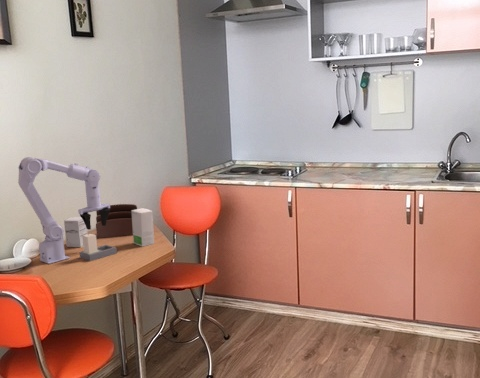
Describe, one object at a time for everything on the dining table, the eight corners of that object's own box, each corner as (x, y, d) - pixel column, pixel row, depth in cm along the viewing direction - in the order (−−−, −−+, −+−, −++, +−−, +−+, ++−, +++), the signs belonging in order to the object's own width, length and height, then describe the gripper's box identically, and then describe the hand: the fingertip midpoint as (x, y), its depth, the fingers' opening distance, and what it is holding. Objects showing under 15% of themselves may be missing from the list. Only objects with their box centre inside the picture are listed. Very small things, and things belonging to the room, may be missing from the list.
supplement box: (66, 247, 245) (63, 220, 242) (74, 242, 252) (71, 216, 249) (80, 247, 243) (77, 220, 241) (89, 243, 250) (86, 216, 248)
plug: (89, 253, 223) (87, 237, 222) (84, 251, 226) (82, 235, 225) (97, 251, 226) (96, 234, 225) (92, 249, 229) (90, 233, 228)
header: (90, 261, 222) (89, 254, 221) (80, 257, 227) (79, 251, 227) (117, 253, 231) (116, 247, 231) (106, 250, 236) (105, 244, 236)
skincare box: (133, 243, 245) (130, 210, 242) (145, 240, 249) (142, 207, 246) (143, 247, 238) (139, 212, 236) (155, 243, 243) (152, 209, 240)
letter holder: (98, 233, 267) (95, 205, 264) (139, 230, 270) (136, 202, 268) (97, 238, 257) (94, 210, 255) (139, 234, 260) (136, 206, 258)
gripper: (83, 200, 225) (86, 232, 227) (112, 194, 235) (115, 224, 238) (74, 199, 230) (77, 229, 232) (103, 193, 240) (106, 222, 242)
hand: (96, 227), depth 235 cm, fingers open, 7 cm apart
